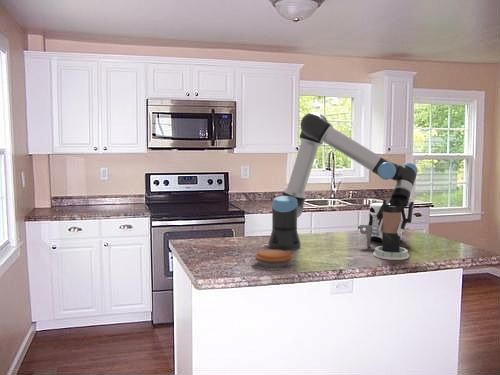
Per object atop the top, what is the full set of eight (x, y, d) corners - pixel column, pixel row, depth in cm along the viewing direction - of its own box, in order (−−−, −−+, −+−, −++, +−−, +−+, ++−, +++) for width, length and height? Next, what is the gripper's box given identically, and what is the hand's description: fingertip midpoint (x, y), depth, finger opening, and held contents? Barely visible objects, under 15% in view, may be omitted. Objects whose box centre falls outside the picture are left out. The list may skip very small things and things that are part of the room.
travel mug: (403, 252, 200) (405, 206, 198) (389, 254, 197) (390, 207, 195) (392, 248, 207) (393, 204, 205) (378, 250, 204) (379, 205, 202)
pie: (258, 258, 198) (258, 246, 198) (294, 260, 195) (294, 248, 195) (251, 267, 183) (251, 255, 182) (290, 270, 180) (290, 257, 180)
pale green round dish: (378, 260, 195) (378, 253, 195) (369, 251, 210) (369, 245, 210) (414, 259, 195) (414, 253, 195) (402, 251, 210) (402, 245, 210)
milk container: (399, 237, 243) (400, 202, 241) (405, 244, 226) (406, 207, 224) (365, 236, 245) (366, 202, 243) (368, 243, 228) (369, 206, 226)
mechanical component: (380, 247, 218) (380, 226, 217) (357, 246, 220) (358, 225, 219) (379, 246, 221) (380, 225, 220) (357, 245, 223) (358, 224, 222)
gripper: (426, 199, 207) (414, 241, 195) (382, 196, 218) (368, 235, 207) (423, 188, 202) (411, 230, 190) (378, 185, 214) (363, 225, 202)
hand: (388, 233), depth 199 cm, fingers closed on travel mug, 7 cm apart
